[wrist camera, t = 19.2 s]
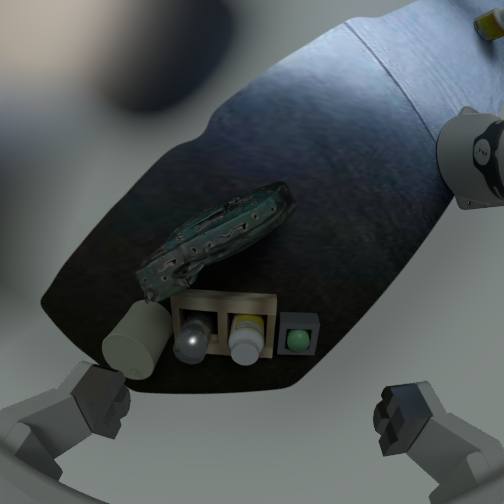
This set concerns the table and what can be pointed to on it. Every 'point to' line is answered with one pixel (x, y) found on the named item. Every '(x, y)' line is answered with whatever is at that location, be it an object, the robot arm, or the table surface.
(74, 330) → the table surface
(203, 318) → the seated billet
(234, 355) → the supplement bottle
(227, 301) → the rack
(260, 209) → the green curved lump
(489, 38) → the supplement bottle
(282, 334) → the button box
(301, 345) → the button
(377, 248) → the table surface
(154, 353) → the can
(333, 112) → the table surface
